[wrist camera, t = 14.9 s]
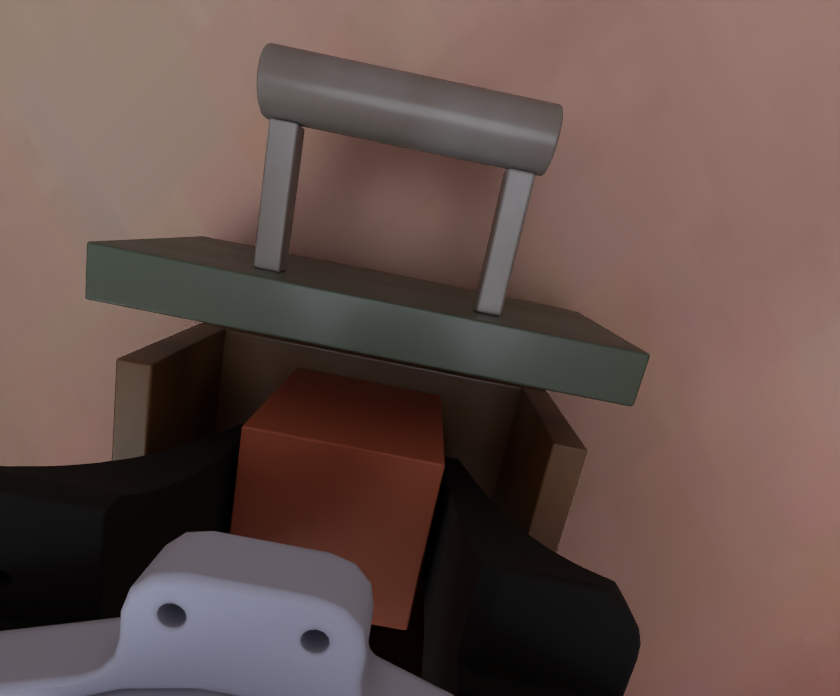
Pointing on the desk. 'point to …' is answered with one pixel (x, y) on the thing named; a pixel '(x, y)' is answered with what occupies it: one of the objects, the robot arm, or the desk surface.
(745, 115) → the desk surface
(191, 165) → the desk surface
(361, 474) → the block
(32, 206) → the desk surface
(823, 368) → the desk surface
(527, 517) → the drawer
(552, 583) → the robot arm
